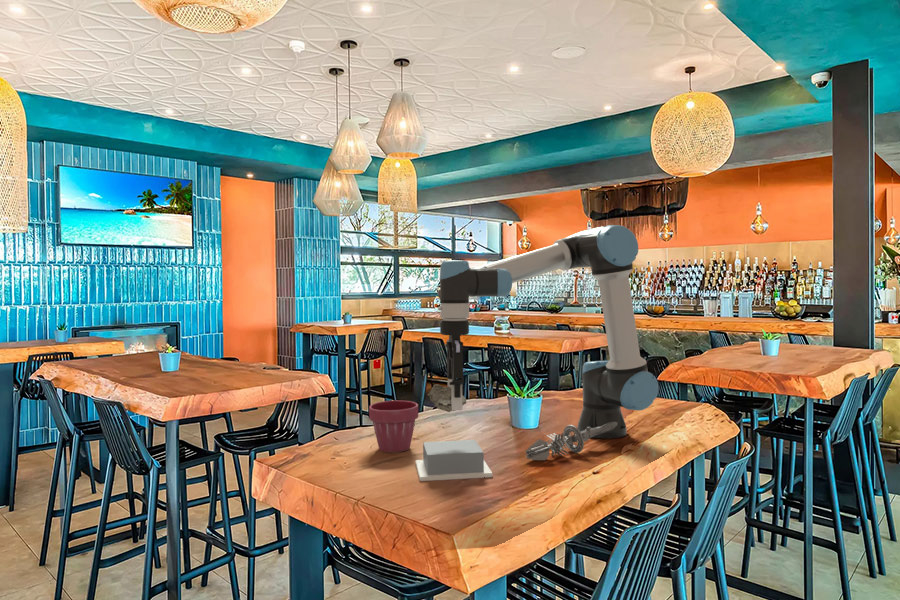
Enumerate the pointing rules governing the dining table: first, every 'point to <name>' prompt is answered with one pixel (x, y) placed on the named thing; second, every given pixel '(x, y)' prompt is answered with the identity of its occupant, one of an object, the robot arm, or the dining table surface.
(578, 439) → the spaceship
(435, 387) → the rock sample
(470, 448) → the plinth
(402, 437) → the plant pot
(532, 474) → the dining table surface
